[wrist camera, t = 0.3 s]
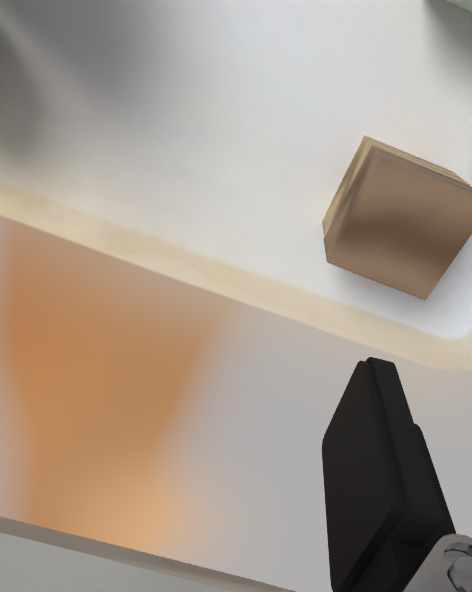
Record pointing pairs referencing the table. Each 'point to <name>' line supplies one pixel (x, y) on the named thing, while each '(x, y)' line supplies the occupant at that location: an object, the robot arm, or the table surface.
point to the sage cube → (462, 4)
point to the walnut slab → (400, 224)
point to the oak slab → (356, 166)
